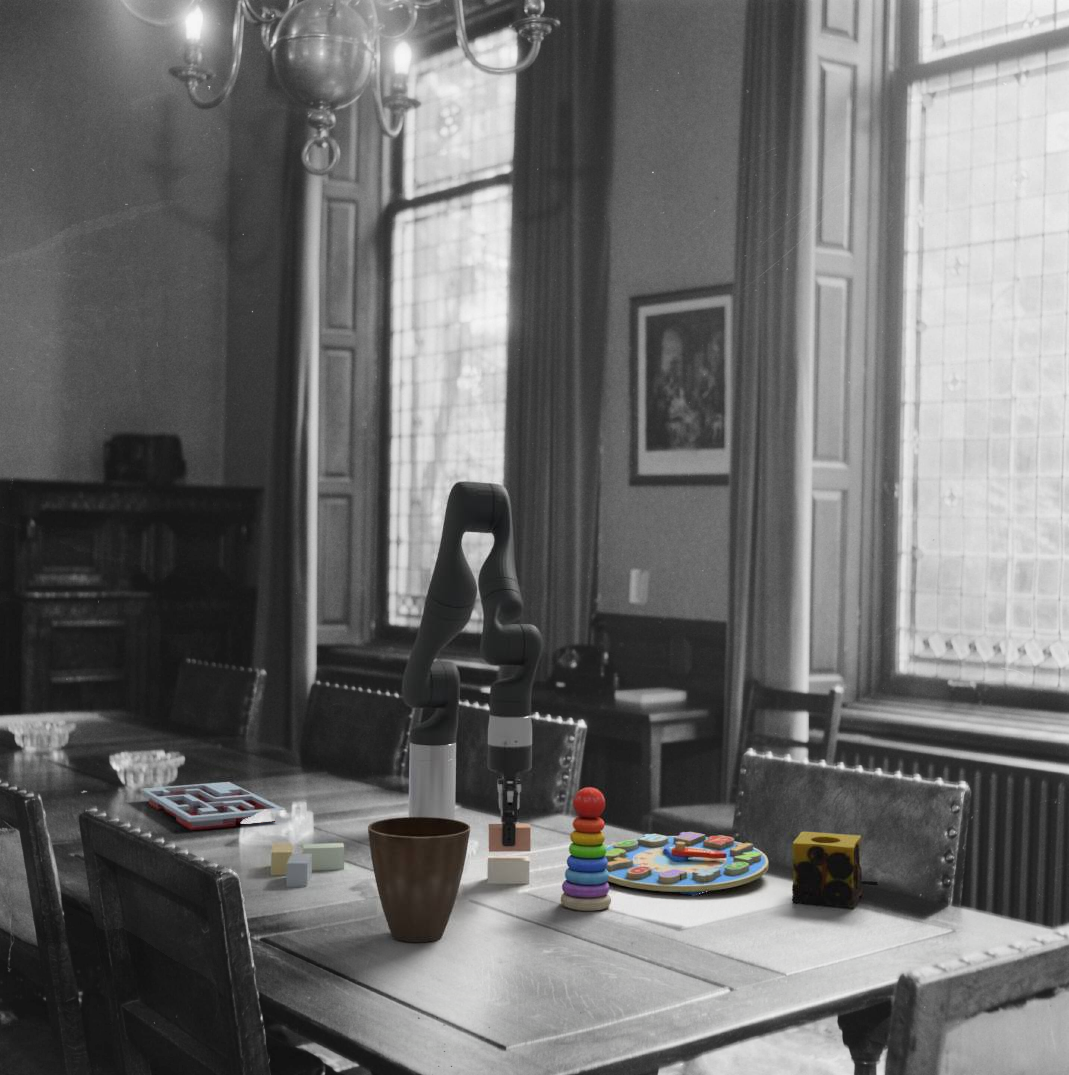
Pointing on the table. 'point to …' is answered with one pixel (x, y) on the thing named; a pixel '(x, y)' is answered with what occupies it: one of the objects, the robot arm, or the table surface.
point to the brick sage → (326, 855)
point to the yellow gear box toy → (827, 869)
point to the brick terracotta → (520, 838)
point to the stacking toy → (587, 856)
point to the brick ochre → (280, 858)
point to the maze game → (207, 804)
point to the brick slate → (299, 870)
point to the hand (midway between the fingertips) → (508, 842)
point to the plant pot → (418, 873)
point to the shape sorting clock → (684, 863)
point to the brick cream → (508, 870)
